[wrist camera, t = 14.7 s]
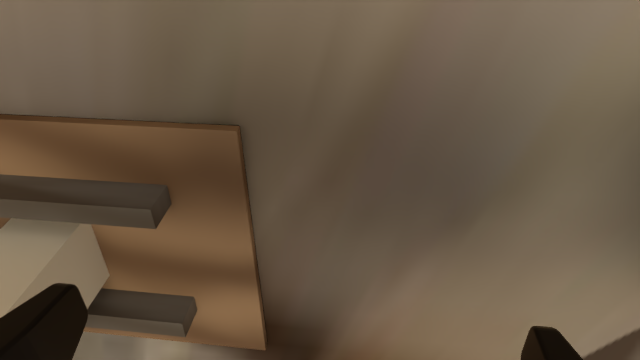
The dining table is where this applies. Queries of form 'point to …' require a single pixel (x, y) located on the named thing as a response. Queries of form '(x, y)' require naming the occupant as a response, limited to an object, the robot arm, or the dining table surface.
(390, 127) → the dining table surface
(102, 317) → the brown flat board
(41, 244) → the cream square-faced block
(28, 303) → the robot arm
